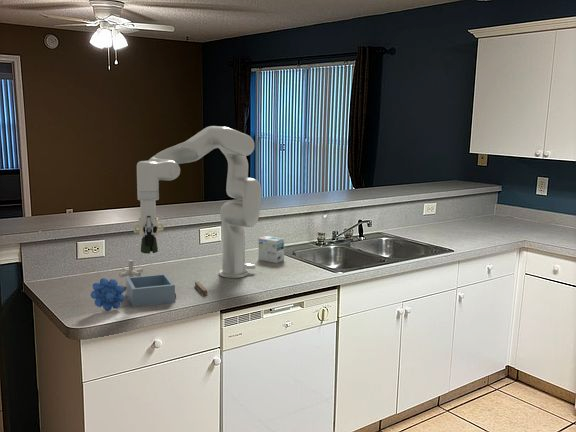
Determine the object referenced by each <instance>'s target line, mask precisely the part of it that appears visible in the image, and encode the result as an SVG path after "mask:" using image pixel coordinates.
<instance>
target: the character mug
mask: <svg viewBox="0 0 576 432" xmlns="http://www.w3.org/2000/svg"><path fill="white" fill-rule="evenodd" d="M150 218H151V216H150ZM146 226H147V222H146ZM151 226H152V222H151ZM159 226H160V228H159ZM137 227H138V229H137ZM162 231H163V232H164V222H162V221H159V217H156V216H155V226H154V227H153V235H154V245H153V246H145V227H143V228H142V227H141V217H138V223H135V224H133V233H134V234H138V235H139V236H140V237H142V238H141V244H140V253H142V254H151V252H152V254H155V253H158V252H159V249H158V242H157V241H158V240H157V236H158V235H159V233H160V232H162ZM151 233H152V232H151ZM151 235H152V234H151Z"/></svg>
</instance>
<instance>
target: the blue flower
mask: <svg viewBox="0 0 576 432" xmlns="http://www.w3.org/2000/svg"><path fill="white" fill-rule="evenodd" d="M92 289H93V290H92V291H91V292H90V297H91V298H92V299H93V300H94V305H95V306H96V307H98V308H101V307H102V308H103V309H104V311H106V312H107V311H111V310H112V308H113V309H119V308H121V303H123V302H124V301H125V299H126V297H125V295H124V292H125V289H124V287H123V286H122V285H119V284H118V281H117V280H116V279H114V278H112V279H110V280H109V279H107V278H106V277H102V278H100V280H99V282H94V283H92Z"/></svg>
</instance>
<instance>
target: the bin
mask: <svg viewBox="0 0 576 432" xmlns="http://www.w3.org/2000/svg"><path fill="white" fill-rule="evenodd" d="M125 281H126V282H125V284H126V287H125V288H126V289H125V290H126V291H125V292H126V295H127V298H128V300H129V302H130V304H131V306H132V308H137V307H145V306H154V305H162V304H170V303H176V299H175V293H176V284H175V283H174V282H173V281H172V279H171V278H170V277H169V276H168V275H167V273H159V274H150V275H149V274H148V275H141V276H134V277H129V276H125Z"/></svg>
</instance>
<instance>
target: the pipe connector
mask: <svg viewBox="0 0 576 432" xmlns="http://www.w3.org/2000/svg"><path fill="white" fill-rule="evenodd" d="M121 271H122V272H119V274H118V276H119V277H120V278H124V277H125V278H126V277H137V276H142V274H141V273H143V271H144V269H143V268H142V267H138V268H135V269H134V260H133V259H128V268H127V267H123V268H122V269H121Z"/></svg>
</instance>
